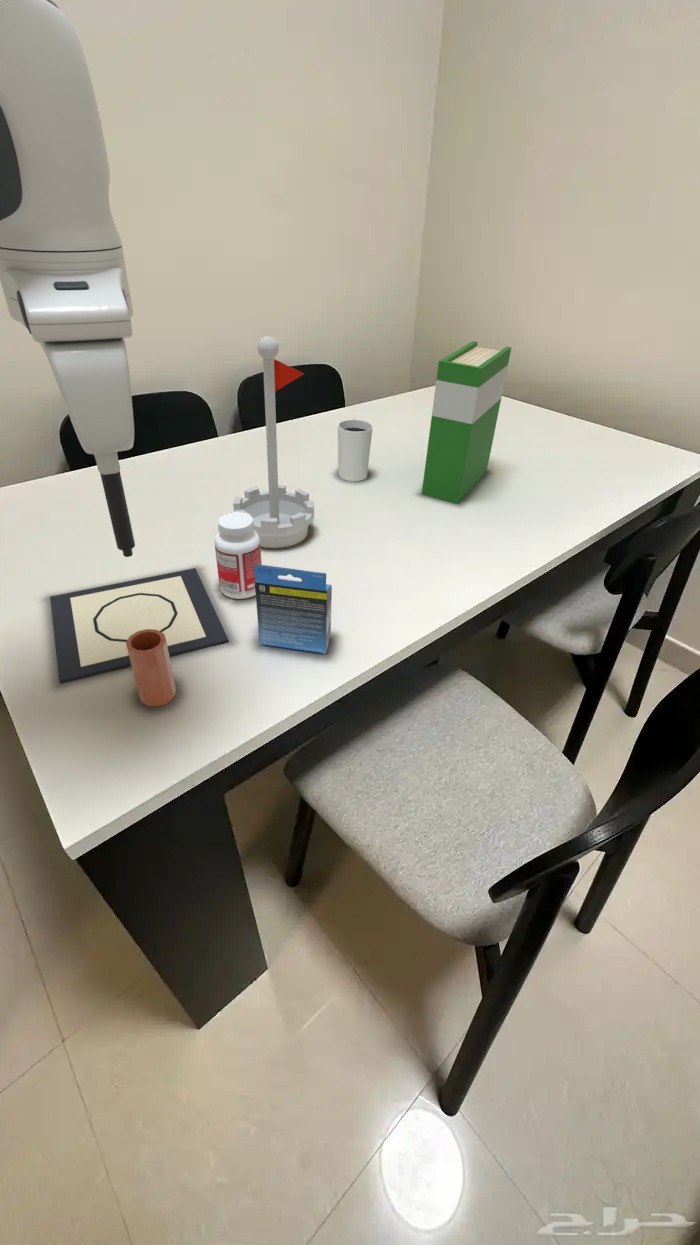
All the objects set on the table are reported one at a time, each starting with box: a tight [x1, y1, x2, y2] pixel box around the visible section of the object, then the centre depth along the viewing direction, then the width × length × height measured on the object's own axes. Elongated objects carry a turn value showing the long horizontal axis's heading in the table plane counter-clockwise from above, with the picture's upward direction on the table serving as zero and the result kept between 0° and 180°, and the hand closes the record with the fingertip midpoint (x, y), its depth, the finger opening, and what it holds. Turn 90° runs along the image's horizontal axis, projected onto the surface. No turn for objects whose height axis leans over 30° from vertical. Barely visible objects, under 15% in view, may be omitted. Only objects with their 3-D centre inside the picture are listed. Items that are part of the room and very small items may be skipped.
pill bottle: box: [213, 511, 263, 600], centre depth 81 cm, size 6×6×11 cm
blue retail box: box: [253, 564, 333, 654], centre depth 71 cm, size 9×4×12 cm, turn 81°
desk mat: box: [49, 567, 229, 684], centre depth 77 cm, size 20×18×1 cm
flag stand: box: [232, 335, 315, 549], centre depth 88 cm, size 13×13×30 cm
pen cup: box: [126, 629, 177, 708], centre depth 64 cm, size 4×4×8 cm
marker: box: [99, 470, 136, 558], centre depth 54 cm, size 2×2×14 cm
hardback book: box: [421, 340, 512, 505], centre depth 108 cm, size 18×7×24 cm, turn 152°
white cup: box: [337, 419, 374, 482], centre depth 113 cm, size 7×7×10 cm
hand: (107, 464), depth 52 cm, fingers closed on marker, 2 cm apart
